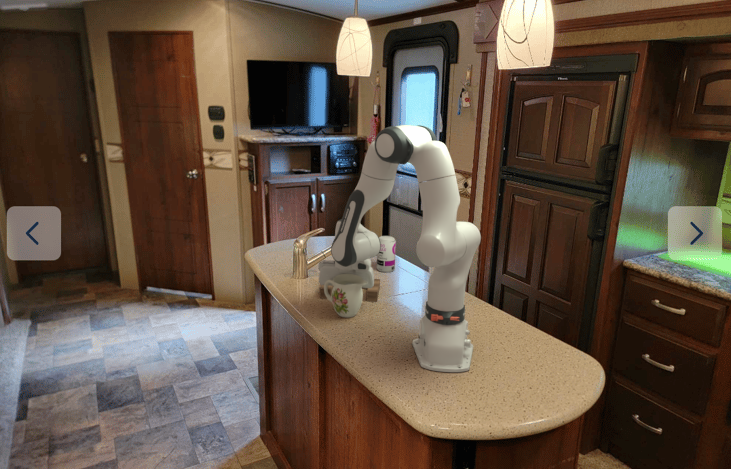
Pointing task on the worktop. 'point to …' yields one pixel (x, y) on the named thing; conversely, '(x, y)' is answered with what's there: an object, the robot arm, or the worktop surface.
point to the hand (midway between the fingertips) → (346, 296)
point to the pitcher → (346, 294)
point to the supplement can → (386, 254)
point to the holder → (371, 292)
